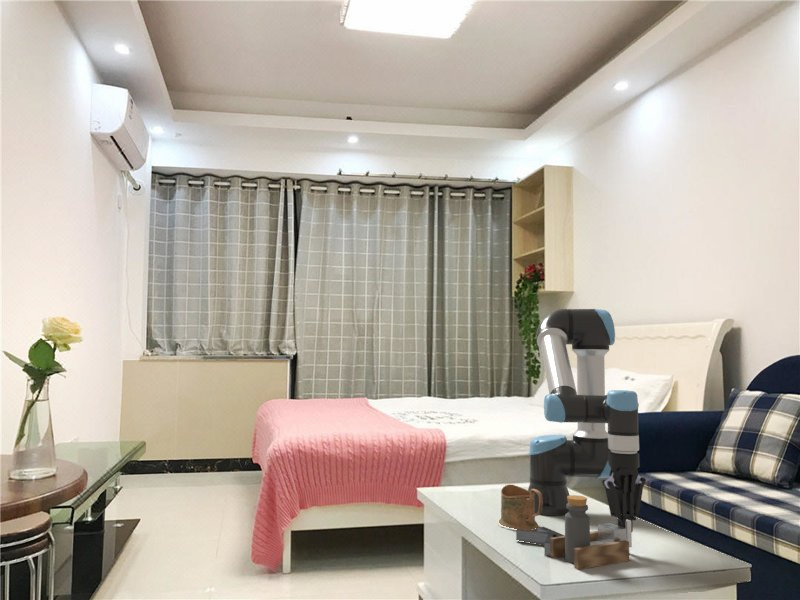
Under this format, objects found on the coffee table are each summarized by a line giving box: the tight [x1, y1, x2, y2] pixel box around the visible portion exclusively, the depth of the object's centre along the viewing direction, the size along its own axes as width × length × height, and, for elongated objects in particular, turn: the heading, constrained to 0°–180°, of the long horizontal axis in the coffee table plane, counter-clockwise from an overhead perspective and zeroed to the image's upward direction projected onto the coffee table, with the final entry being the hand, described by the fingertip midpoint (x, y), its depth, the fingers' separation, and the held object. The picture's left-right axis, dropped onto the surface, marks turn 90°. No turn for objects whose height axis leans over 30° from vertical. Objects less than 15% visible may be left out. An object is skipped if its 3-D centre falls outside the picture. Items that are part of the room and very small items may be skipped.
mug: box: [498, 484, 543, 531], centre depth 177 cm, size 12×18×12 cm, turn 22°
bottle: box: [564, 494, 591, 564], centre depth 150 cm, size 6×6×15 cm
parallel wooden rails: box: [549, 530, 630, 570], centre depth 151 cm, size 16×10×4 cm, turn 115°
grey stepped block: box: [590, 522, 626, 546], centre depth 153 cm, size 10×6×7 cm, turn 116°
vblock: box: [515, 526, 565, 557], centre depth 160 cm, size 9×14×3 cm, turn 25°
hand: (625, 545), depth 156 cm, fingers closed
